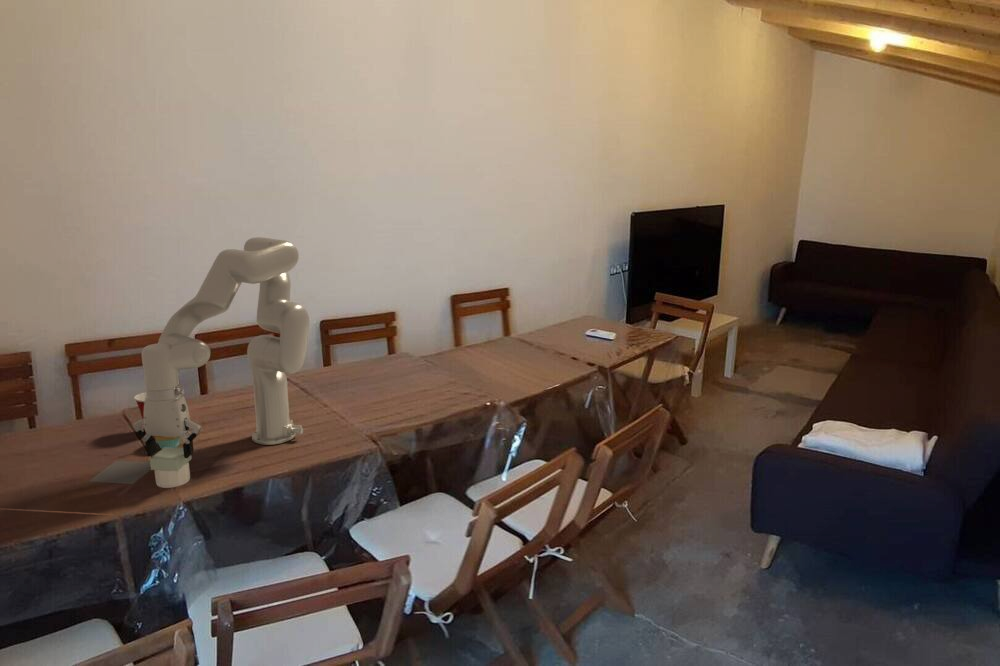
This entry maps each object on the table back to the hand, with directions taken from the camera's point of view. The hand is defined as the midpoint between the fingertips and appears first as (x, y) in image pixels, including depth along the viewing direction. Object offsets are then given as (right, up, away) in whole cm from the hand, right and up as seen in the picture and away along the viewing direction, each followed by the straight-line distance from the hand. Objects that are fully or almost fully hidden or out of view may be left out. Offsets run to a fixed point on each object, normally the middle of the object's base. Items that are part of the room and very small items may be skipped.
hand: (170, 454), depth 172 cm
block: (0, -2, +1) cm, 3 cm away
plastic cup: (-19, +1, +32) cm, 37 cm away
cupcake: (-11, -2, +22) cm, 25 cm away
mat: (-15, -6, +6) cm, 17 cm away
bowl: (0, -7, +2) cm, 8 cm away
